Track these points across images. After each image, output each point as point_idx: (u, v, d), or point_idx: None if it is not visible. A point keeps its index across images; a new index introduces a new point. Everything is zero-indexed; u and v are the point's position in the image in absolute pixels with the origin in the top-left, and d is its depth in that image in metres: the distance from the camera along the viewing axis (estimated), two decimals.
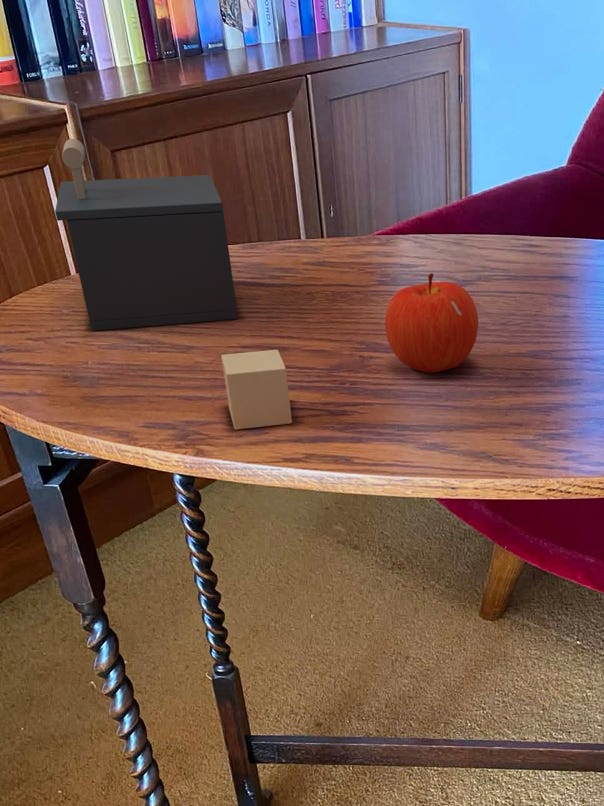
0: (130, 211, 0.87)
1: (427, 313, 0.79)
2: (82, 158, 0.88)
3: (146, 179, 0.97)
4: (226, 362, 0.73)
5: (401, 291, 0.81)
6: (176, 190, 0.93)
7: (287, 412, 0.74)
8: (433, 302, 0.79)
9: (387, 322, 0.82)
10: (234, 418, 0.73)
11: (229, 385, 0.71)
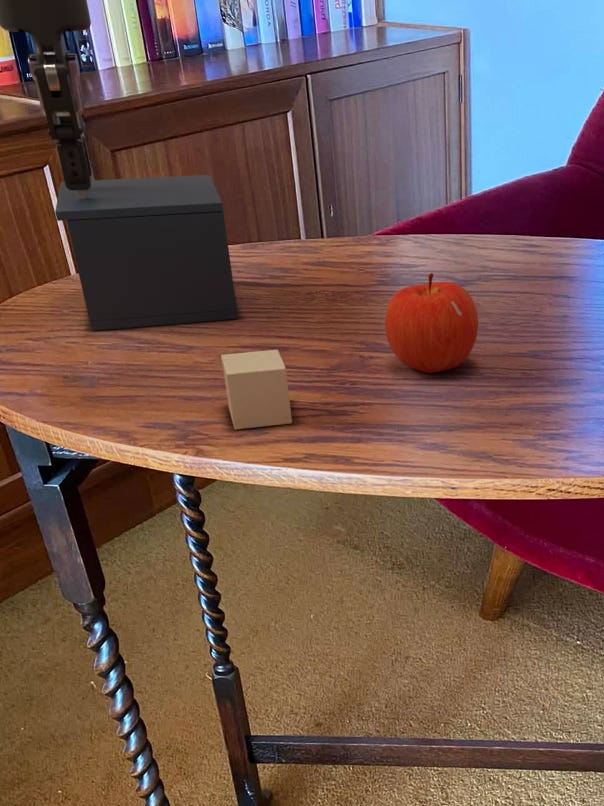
0: (130, 211, 0.87)
1: (427, 313, 0.79)
2: None
3: (146, 179, 0.97)
4: (226, 362, 0.73)
5: (401, 291, 0.81)
6: (176, 190, 0.93)
7: (287, 412, 0.74)
8: (433, 302, 0.79)
9: (387, 322, 0.82)
10: (234, 418, 0.73)
11: (229, 385, 0.71)
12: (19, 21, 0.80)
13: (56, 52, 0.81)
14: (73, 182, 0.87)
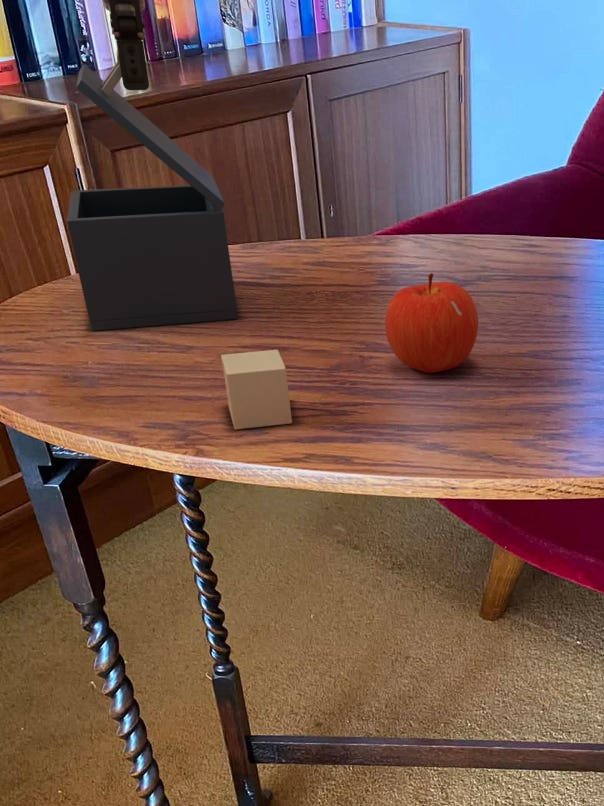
0: (145, 140, 0.84)
1: (427, 313, 0.79)
2: None
3: (159, 130, 0.95)
4: (226, 362, 0.73)
5: (401, 291, 0.81)
6: (186, 161, 0.92)
7: (287, 412, 0.74)
8: (433, 302, 0.79)
9: (387, 322, 0.82)
10: (234, 418, 0.73)
11: (229, 385, 0.71)
12: None
13: None
14: (131, 81, 0.84)
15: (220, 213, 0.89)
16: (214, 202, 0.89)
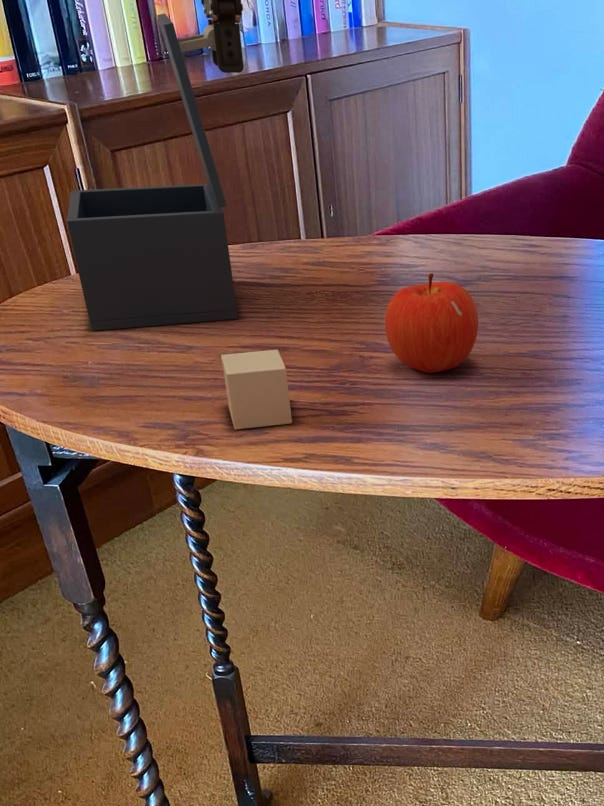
0: (194, 108, 0.84)
1: (427, 313, 0.79)
2: None
3: None
4: (226, 362, 0.73)
5: (401, 291, 0.81)
6: None
7: (287, 412, 0.74)
8: (433, 302, 0.79)
9: (387, 322, 0.82)
10: (234, 418, 0.73)
11: (229, 385, 0.71)
12: None
13: None
14: (227, 63, 0.86)
15: (220, 213, 0.89)
16: (218, 198, 0.89)
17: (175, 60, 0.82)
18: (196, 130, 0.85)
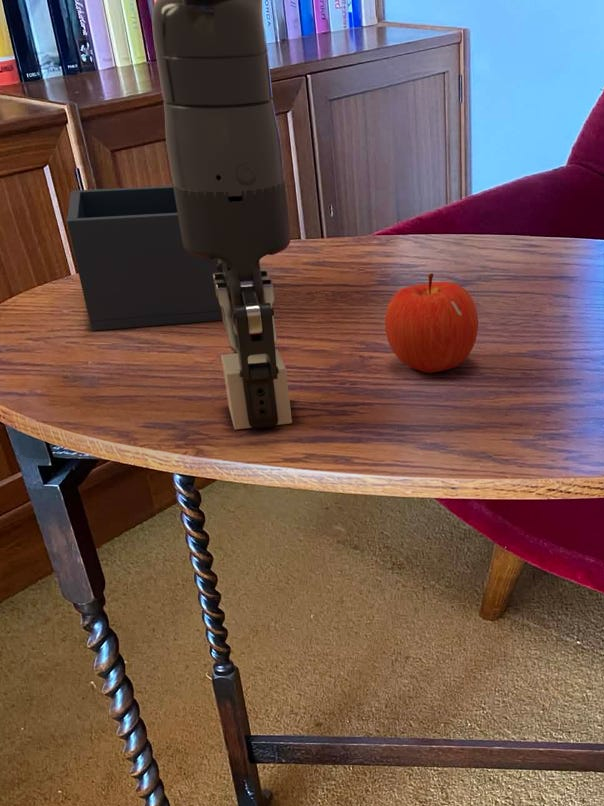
0: None
1: (427, 313, 0.79)
2: None
3: None
4: (226, 362, 0.73)
5: (401, 291, 0.81)
6: None
7: (287, 412, 0.74)
8: (433, 302, 0.79)
9: (387, 322, 0.82)
10: (234, 418, 0.73)
11: (229, 385, 0.71)
12: (214, 249, 0.65)
13: (256, 284, 0.66)
14: (259, 421, 0.72)
15: None
16: None
17: None
18: None
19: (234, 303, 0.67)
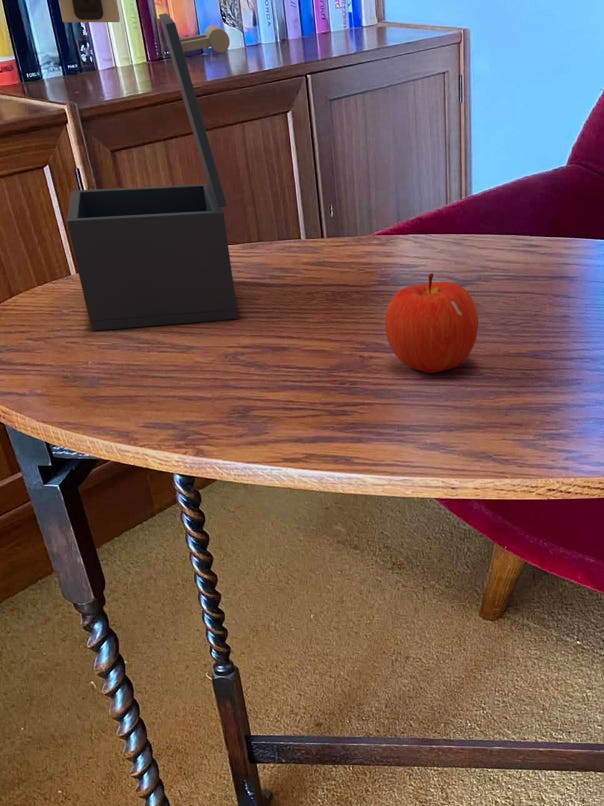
0: (195, 108, 0.84)
1: (427, 313, 0.79)
2: (221, 51, 0.86)
3: None
4: None
5: (401, 291, 0.81)
6: None
7: (113, 8, 0.78)
8: (433, 302, 0.79)
9: (387, 322, 0.82)
10: (61, 8, 0.77)
11: None
12: None
13: None
14: (83, 8, 0.77)
15: (220, 213, 0.89)
16: (218, 198, 0.89)
17: (177, 60, 0.82)
18: (197, 130, 0.85)
19: None
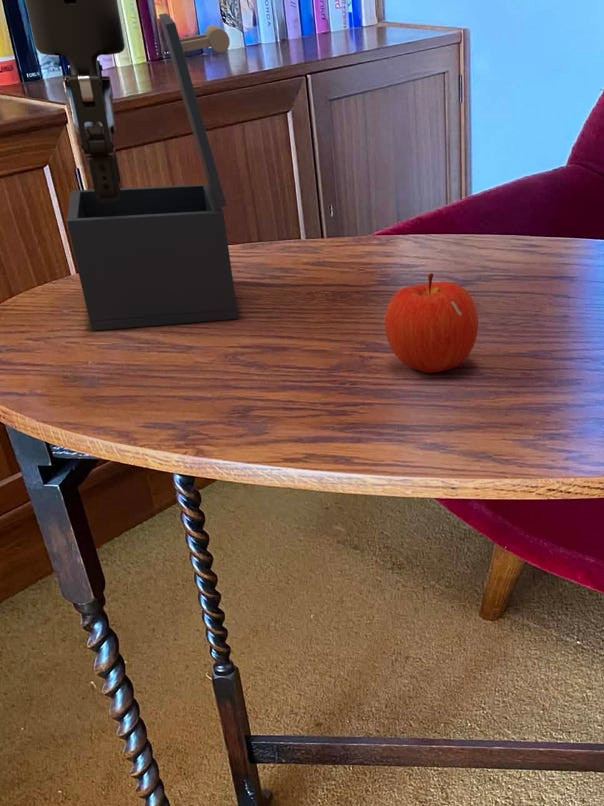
0: (195, 108, 0.84)
1: (427, 313, 0.79)
2: (221, 51, 0.86)
3: None
4: None
5: (401, 291, 0.81)
6: None
7: None
8: (433, 302, 0.79)
9: (387, 322, 0.82)
10: None
11: None
12: (56, 45, 0.82)
13: (91, 71, 0.83)
14: (104, 195, 0.87)
15: (220, 213, 0.89)
16: (218, 198, 0.89)
17: (177, 60, 0.82)
18: (197, 130, 0.85)
19: None
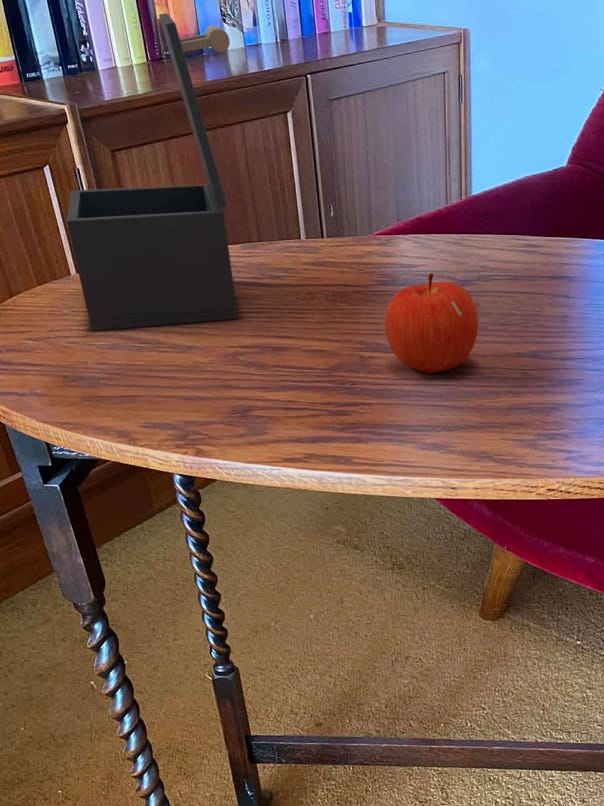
0: (195, 108, 0.84)
1: (427, 313, 0.79)
2: (221, 51, 0.86)
3: None
4: None
5: (401, 291, 0.81)
6: None
7: None
8: (433, 302, 0.79)
9: (387, 322, 0.82)
10: None
11: None
12: None
13: None
14: None
15: (220, 213, 0.89)
16: (218, 198, 0.89)
17: (177, 60, 0.82)
18: (197, 130, 0.85)
19: None
